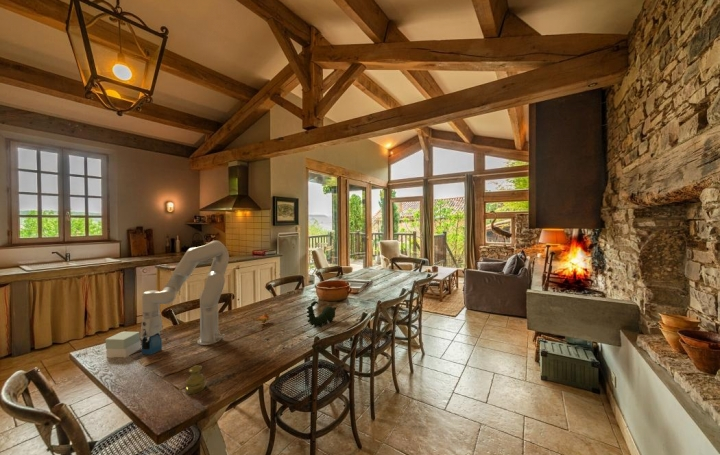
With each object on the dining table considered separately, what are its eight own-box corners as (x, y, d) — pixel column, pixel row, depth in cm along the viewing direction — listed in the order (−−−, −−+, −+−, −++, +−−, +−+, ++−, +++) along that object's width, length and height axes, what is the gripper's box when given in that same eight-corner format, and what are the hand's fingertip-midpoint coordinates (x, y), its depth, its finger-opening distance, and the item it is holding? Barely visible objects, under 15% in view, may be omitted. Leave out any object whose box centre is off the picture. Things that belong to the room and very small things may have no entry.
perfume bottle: (151, 354, 149) (150, 332, 148) (141, 353, 150) (141, 331, 149) (161, 349, 155) (161, 328, 154) (152, 348, 156) (152, 327, 156)
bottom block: (140, 349, 155) (140, 340, 155) (125, 358, 145) (125, 348, 145) (122, 349, 155) (122, 340, 155) (106, 358, 145) (106, 348, 145)
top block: (140, 340, 155) (139, 331, 155) (124, 349, 145) (124, 339, 145) (122, 340, 155) (122, 331, 155) (105, 348, 145) (105, 339, 145)
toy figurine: (314, 333, 182) (341, 320, 200) (312, 305, 180) (340, 294, 198) (305, 329, 188) (332, 316, 207) (303, 302, 187) (331, 292, 205)
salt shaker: (181, 392, 117) (181, 368, 116) (197, 382, 124) (197, 360, 123) (193, 396, 114) (193, 372, 114) (209, 386, 121) (209, 363, 121)
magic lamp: (248, 327, 187) (247, 311, 186) (269, 319, 202) (269, 304, 202) (254, 329, 183) (254, 313, 183) (275, 321, 199) (275, 305, 199)
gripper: (145, 319, 143) (146, 353, 143) (169, 308, 160) (169, 339, 161) (131, 319, 143) (131, 353, 143) (156, 308, 160) (156, 338, 161)
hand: (151, 345), depth 152 cm, fingers closed on perfume bottle, 7 cm apart
